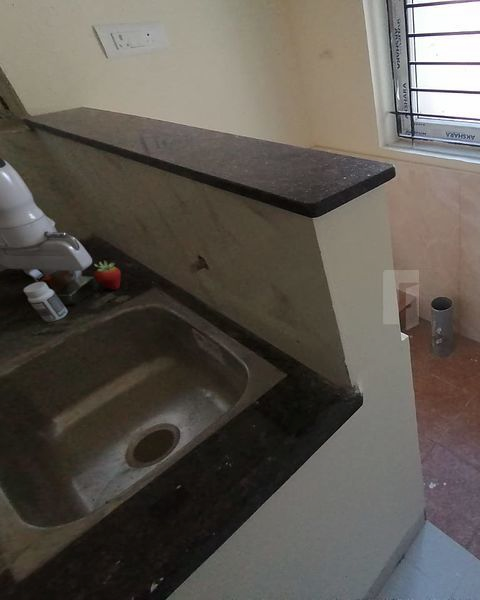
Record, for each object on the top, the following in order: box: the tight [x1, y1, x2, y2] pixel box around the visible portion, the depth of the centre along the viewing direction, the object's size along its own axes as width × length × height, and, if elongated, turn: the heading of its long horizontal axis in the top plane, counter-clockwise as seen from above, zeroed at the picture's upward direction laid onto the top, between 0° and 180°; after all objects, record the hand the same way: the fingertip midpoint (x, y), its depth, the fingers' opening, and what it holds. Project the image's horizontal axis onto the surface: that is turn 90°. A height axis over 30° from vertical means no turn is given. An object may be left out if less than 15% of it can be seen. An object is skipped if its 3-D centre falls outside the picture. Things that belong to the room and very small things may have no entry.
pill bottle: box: [23, 282, 69, 323], centre depth 88 cm, size 5×5×8 cm
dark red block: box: [43, 270, 73, 292], centre depth 94 cm, size 6×2×4 cm, turn 175°
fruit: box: [93, 259, 122, 291], centre depth 96 cm, size 5×5×8 cm
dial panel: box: [55, 276, 100, 306], centre depth 96 cm, size 10×10×3 cm
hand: (61, 282), depth 95 cm, fingers open, 8 cm apart
